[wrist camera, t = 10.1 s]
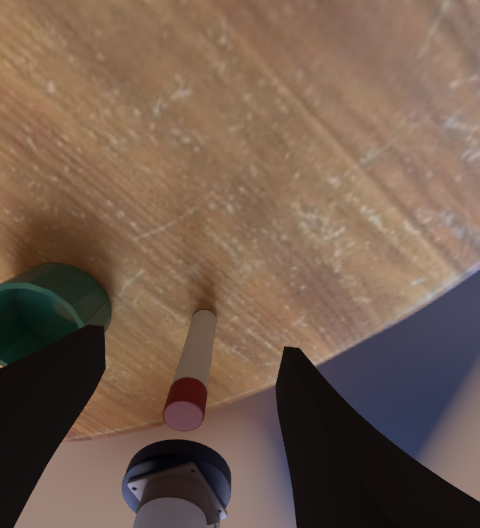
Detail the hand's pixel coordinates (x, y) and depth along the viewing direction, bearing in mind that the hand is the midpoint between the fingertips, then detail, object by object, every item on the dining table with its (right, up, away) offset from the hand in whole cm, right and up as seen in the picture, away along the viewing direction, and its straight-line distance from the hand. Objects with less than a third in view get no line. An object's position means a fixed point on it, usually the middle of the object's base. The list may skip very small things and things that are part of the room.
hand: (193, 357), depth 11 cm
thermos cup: (-11, +1, +9) cm, 14 cm away
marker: (-1, 0, +10) cm, 10 cm away
